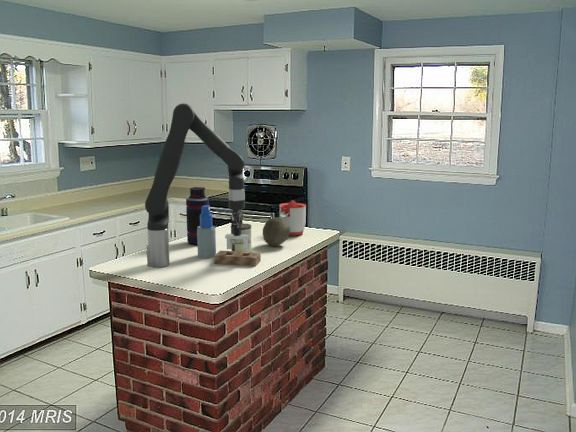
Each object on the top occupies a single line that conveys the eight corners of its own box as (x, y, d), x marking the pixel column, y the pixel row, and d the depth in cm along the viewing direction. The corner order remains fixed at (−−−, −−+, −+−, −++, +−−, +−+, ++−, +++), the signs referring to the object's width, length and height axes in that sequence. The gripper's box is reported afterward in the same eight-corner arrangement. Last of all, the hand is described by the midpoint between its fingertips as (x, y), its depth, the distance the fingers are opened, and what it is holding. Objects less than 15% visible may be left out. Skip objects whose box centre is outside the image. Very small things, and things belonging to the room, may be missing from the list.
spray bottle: (219, 254, 272) (218, 204, 267) (210, 258, 264) (209, 207, 259) (203, 252, 275) (202, 203, 270) (194, 257, 267) (192, 206, 262)
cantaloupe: (268, 250, 281) (268, 221, 278) (259, 243, 294) (258, 216, 291) (293, 247, 287) (294, 219, 284) (283, 241, 299) (283, 214, 296)
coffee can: (226, 253, 274) (226, 225, 272) (240, 249, 282) (239, 222, 280) (242, 256, 268) (242, 228, 266) (255, 252, 277) (255, 225, 274)
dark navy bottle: (203, 246, 288) (201, 189, 282) (183, 244, 292) (181, 188, 286) (215, 240, 301) (213, 186, 295) (195, 238, 304) (194, 185, 299)
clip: (225, 249, 257) (224, 224, 255) (227, 247, 260) (226, 223, 257) (248, 250, 255) (247, 225, 252) (249, 248, 258) (249, 224, 255)
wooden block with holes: (214, 263, 256) (214, 255, 255) (220, 258, 265) (220, 250, 264) (255, 266, 252) (255, 257, 251) (260, 260, 261) (260, 252, 260)
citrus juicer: (271, 235, 314) (271, 200, 310) (289, 229, 328) (289, 196, 324) (294, 238, 305) (294, 203, 301) (311, 233, 319) (311, 199, 315)
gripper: (233, 195, 260) (233, 231, 263) (224, 200, 247) (225, 238, 250) (248, 196, 259) (249, 232, 262) (240, 201, 245) (240, 238, 248)
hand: (237, 234), depth 256 cm, fingers closed on clip, 3 cm apart
